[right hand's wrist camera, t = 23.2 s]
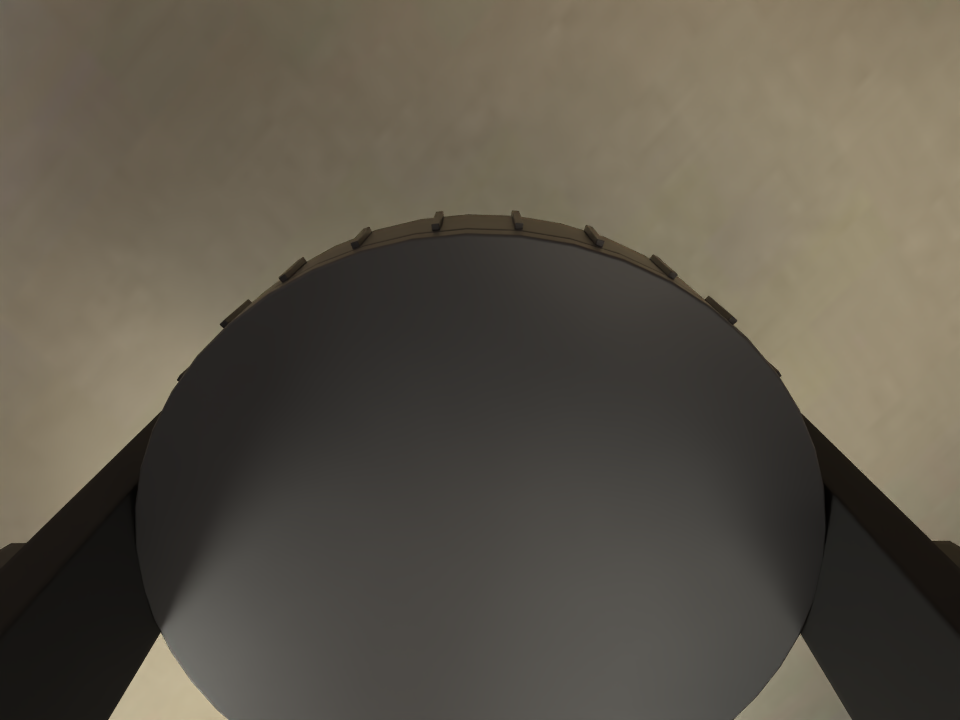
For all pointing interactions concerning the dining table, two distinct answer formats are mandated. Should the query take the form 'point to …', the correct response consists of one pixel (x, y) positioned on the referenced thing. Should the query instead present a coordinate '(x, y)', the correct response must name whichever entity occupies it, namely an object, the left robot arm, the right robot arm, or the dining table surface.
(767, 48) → the dining table surface
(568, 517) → the lid
